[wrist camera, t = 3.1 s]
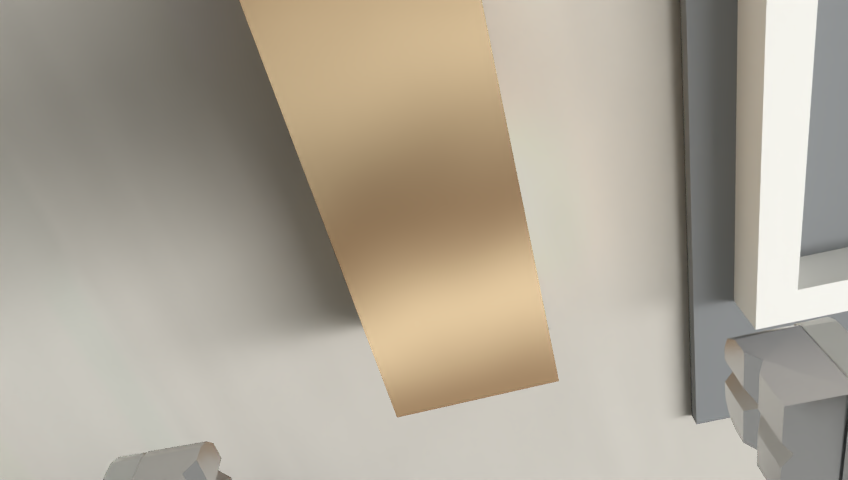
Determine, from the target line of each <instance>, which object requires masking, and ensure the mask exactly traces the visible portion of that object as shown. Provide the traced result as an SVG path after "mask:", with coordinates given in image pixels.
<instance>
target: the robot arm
mask: <svg viewBox="0 0 848 480" xmlns="http://www.w3.org/2000/svg"><path fill="white" fill-rule="evenodd" d="M725 361H726V362H727V364H728V365H729V367H730V368H731V370H732V371H733V372H732V373H731V374H730V376H729V377H728V378H727V380H726V381H725V397H726V403H727V407H728V411H729V415H730V418H731V420H732V422H733V425H734V427H735V429H736V431H737V433H738V434H739V436H740V438H741V439H742V441H743V443H745V444H747V445H749V446H751V447H753V448H755V449H756V450H757V466H758V467H759V469H760V470H761V472H762V474H763V475H764V477H765V478H766V480H848V332H847V331H846V330H845V329H844V328H843V327H842V326H841V325H840V324H839V323H838V322H837V321H836V320H835V319H833V318H830V317H824V318H820V319H815V320H811V321H806V322H801V323H797V324H794V325H791V326H785V327H781V328H776V329H771V330H766V331H761V332H756V333H751V334H746V335H741V336H737V337H732V338H727V341H726V344H725ZM220 461H221V456H220V455H219V453H218V451H217V449H216V447H215V446H214V444H213V443H210V442H200V443H194V444H189V445H183V446H177V447H171V448H165V449H160V450H154V451H148V452H147V453H140V454H134V455H129V456H123V457H118V458H117V459H116V460H114V461H113V462H112V463H111V464H110V466H109V468H108V470H107V472H106V474H105V477H104V479H103V480H232V479H231V477H229V476H227V475H225V474H224V473H222V472H220V471H218V469H219V465H220Z"/></svg>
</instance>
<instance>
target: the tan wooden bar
mask: <svg viewBox="0 0 848 480" xmlns="http://www.w3.org/2000/svg"><path fill="white" fill-rule="evenodd" d="M239 1H240V4H241V6H242V9H243V12H244V14H245V17H246V20H247V22H248V25H249V28H250V30H251V33H252V35H253V38H254V41H255V43H256V46H257V49H258V51H259V54H260V57H261V59H262V62H263V64H264V67H265V70H266V72H267V75H268V78H269V80H270V83H271V86H272V88H273V91H274V93H275V96H276V99H277V101H278V104H279V107H280V109H281V112H282V115H283V117H284V120H285V123H286V125H287V128H288V130H289V133H290V136H291V138H292V141H293V144H294V146H295V149H296V152H297V154H298V157H299V159H300V162H301V165H302V167H303V170H304V173H305V175H306V178H307V181H308V183H309V186H310V189H311V191H312V194H313V196H314V199H315V202H316V204H317V207H318V210H319V212H320V215H321V218H322V220H323V223H324V225H325V228H326V231H327V233H328V236H329V239H330V241H331V244H332V247H333V249H334V252H335V255H336V257H337V260H338V262H339V265H340V268H341V270H342V273H343V276H344V278H345V281H346V284H347V286H348V289H349V291H350V294H351V297H352V299H353V302H354V305H355V307H356V310H357V313H358V315H359V318H360V321H361V323H362V326H363V328H364V331H365V334H366V336H367V339H368V342H369V344H370V347H371V350H372V352H373V355H374V357H375V360H376V363H377V365H378V368H379V371H380V373H381V376H382V379H383V381H384V384H385V386H386V389H387V392H388V394H389V397H390V400H391V402H392V405H393V408H394V410H395V413H396V416H397V417H401V416H406V415H410V414H415V413H419V412H423V411H428V410H432V409H437V408H441V407H446V406H450V405H454V404H459V403H463V402H468V401H472V400H477V399H481V398H485V397H490V396H494V395H499V394H503V393H508V392H512V391H516V390H521V389H525V388H530V387H534V386H539V385H543V384H547V383H552V382H556V381H559V379H558V374H557V369H556V365H555V360H554V355H553V350H552V345H551V340H550V335H549V330H548V325H547V320H546V315H545V310H544V305H543V301H542V296H541V291H540V286H539V281H538V276H537V271H536V266H535V261H534V256H533V251H532V246H531V241H530V236H529V232H528V227H527V222H526V217H525V212H524V207H523V202H522V197H521V192H520V187H519V182H518V177H517V172H516V168H515V163H514V158H513V153H512V148H511V143H510V138H509V133H508V128H507V123H506V118H505V113H504V108H503V104H502V99H501V94H500V89H499V84H498V79H497V74H496V69H495V64H494V59H493V54H492V49H491V44H490V40H489V35H488V30H487V25H486V20H485V15H484V10H483V5H482V0H239Z"/></svg>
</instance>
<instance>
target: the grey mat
mask: <svg viewBox="0 0 848 480" xmlns="http://www.w3.org/2000/svg"><path fill="white" fill-rule="evenodd" d="M680 6H681V40H682V75H683V110H684V145H685V179H686V214H687V249H688V284H689V318H690V353H691V388H692V416H693V418H694V420H695V422H696V424H700V423H705V422H710V421H715V420H720V419H725V418H730V415H729V411H728V407H727V403H726V397H725V381H726V380H727V378H728V377H729V376H730V374H731V373H732V372H733V371H732V370H731V368H730V367H729V365H728V364H727V362H726V361H725V344H726V341H727V338H732V337H737V336H741V335H746V334H751V333H756V332H761V331H766V330H771V329H776V328H781V327H785V326H791V325H794V324H797V323H801V322H806V321H811V320H815V319H820V318H824V317H830V318H833V319H835V320H836V321H837V322H838V323H839V324H840V325H841V326H842V327H843V328H844V329H845V330H846V331H847V332H848V0H680Z"/></svg>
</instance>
